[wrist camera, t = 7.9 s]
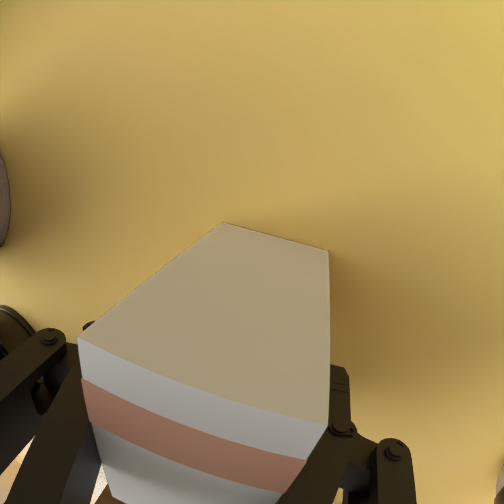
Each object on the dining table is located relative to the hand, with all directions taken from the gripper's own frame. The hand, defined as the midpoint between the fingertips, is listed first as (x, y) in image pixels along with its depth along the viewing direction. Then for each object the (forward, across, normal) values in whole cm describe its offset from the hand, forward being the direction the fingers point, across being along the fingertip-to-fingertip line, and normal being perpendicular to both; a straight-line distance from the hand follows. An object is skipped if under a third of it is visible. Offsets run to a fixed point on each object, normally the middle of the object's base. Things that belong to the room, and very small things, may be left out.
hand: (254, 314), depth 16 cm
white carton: (0, 0, 0) cm, 0 cm away
